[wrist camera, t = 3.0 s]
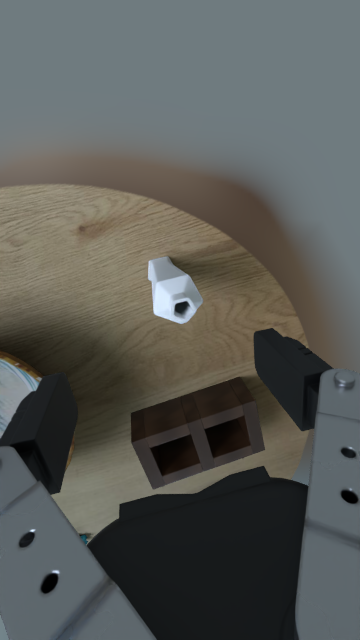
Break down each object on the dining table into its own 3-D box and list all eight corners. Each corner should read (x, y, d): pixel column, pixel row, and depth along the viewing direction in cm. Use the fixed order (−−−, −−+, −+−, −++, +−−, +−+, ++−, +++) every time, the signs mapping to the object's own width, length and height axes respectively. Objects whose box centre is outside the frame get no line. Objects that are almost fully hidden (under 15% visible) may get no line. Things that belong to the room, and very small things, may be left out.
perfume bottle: (185, 260, 36) (220, 293, 22) (171, 291, 37) (197, 340, 24) (152, 246, 35) (168, 272, 21) (139, 278, 36) (146, 322, 22)
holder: (239, 376, 45) (255, 400, 39) (249, 422, 49) (265, 450, 43) (130, 413, 43) (131, 442, 38) (150, 457, 47) (153, 489, 42)
